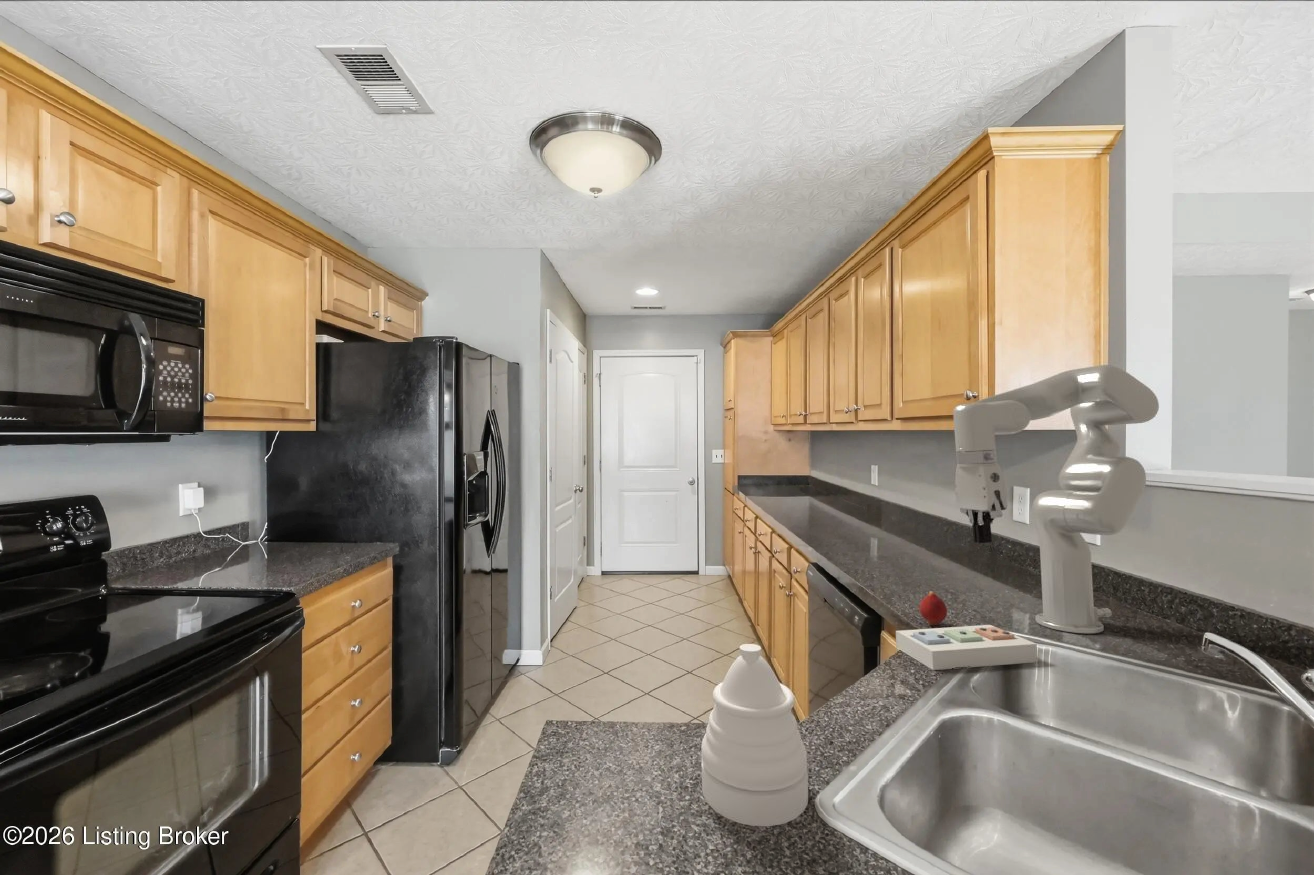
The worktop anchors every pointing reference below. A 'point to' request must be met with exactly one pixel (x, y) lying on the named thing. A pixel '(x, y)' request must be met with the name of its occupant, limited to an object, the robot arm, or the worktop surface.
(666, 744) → the worktop surface
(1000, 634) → the key three
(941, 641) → the key two
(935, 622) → the onion
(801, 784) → the honey pot
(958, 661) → the key board
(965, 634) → the key one
